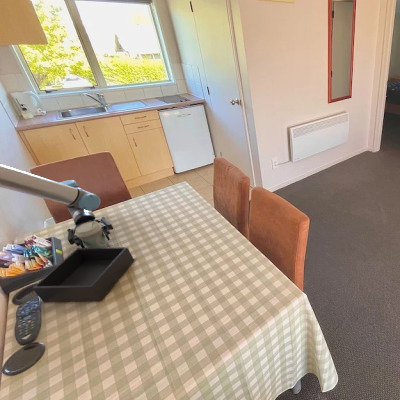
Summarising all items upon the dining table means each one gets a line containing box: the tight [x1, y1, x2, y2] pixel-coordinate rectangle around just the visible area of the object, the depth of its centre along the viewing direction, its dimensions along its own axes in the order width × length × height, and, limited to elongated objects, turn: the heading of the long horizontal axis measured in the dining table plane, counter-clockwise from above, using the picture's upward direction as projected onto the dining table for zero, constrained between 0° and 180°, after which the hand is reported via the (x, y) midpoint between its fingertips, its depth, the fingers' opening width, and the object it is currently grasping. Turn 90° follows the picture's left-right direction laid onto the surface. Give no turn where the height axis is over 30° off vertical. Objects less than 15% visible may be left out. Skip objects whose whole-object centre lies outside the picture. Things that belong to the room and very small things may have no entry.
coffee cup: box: [75, 221, 109, 248], centre depth 111 cm, size 8×8×12 cm
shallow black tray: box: [31, 246, 135, 303], centre depth 98 cm, size 20×20×7 cm
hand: (95, 242), depth 107 cm, fingers closed on coffee cup, 8 cm apart
